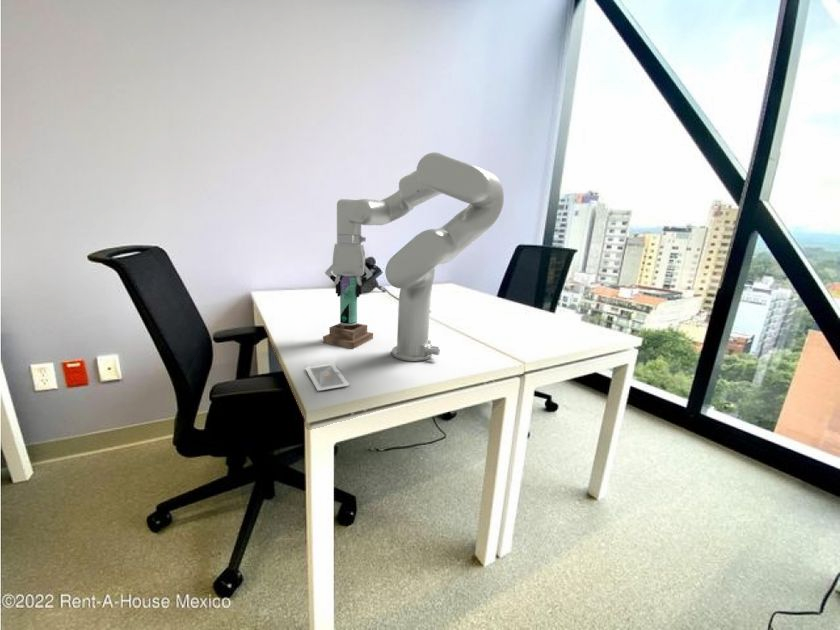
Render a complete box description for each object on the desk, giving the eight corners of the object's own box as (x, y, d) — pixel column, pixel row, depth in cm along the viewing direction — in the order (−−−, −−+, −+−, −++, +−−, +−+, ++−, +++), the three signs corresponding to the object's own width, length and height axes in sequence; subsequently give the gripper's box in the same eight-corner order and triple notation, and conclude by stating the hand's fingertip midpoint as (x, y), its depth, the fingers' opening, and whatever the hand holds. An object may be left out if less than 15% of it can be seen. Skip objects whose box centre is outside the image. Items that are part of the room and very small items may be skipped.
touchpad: (317, 394, 89) (317, 386, 88) (304, 371, 102) (304, 363, 101) (349, 389, 92) (349, 381, 92) (333, 367, 105) (333, 359, 105)
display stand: (373, 338, 130) (373, 324, 128) (354, 348, 119) (354, 333, 118) (343, 332, 134) (343, 319, 133) (323, 342, 123) (322, 327, 122)
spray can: (350, 320, 129) (351, 262, 124) (360, 324, 125) (360, 264, 120) (337, 322, 125) (336, 263, 120) (346, 326, 121) (346, 265, 116)
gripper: (377, 240, 122) (375, 295, 127) (324, 238, 121) (324, 292, 126) (375, 242, 115) (373, 299, 119) (318, 239, 114) (319, 297, 119)
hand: (348, 295), depth 123 cm, fingers closed on spray can, 5 cm apart
